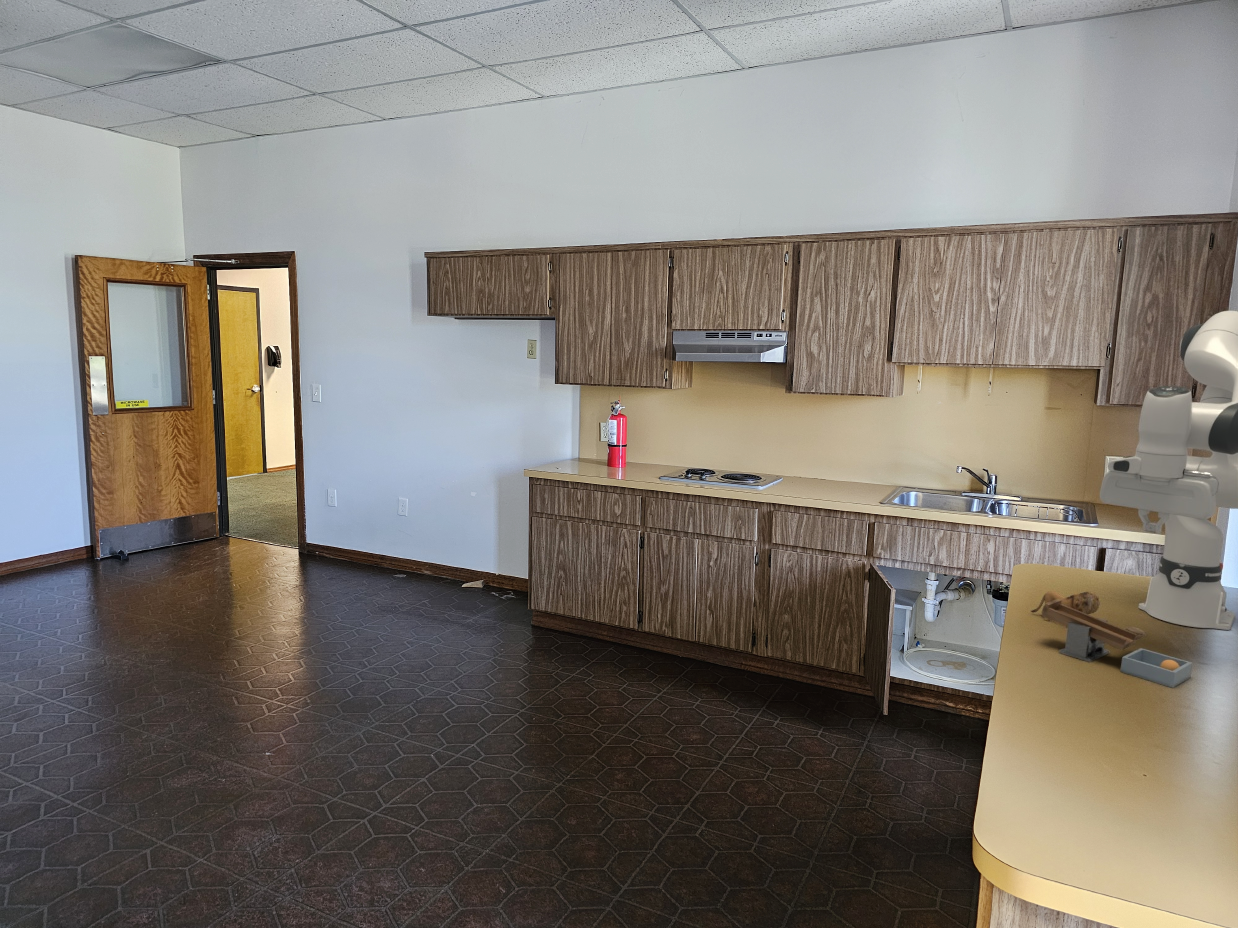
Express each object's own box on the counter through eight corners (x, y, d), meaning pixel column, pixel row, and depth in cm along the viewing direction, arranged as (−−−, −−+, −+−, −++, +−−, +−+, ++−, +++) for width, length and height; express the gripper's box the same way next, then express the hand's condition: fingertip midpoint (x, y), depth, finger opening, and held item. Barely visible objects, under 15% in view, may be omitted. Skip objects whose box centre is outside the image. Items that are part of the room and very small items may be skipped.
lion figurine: (1100, 630, 182) (1105, 592, 181) (1089, 634, 179) (1094, 595, 178) (1035, 612, 194) (1040, 575, 193) (1024, 615, 191) (1028, 579, 190)
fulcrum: (1078, 644, 173) (1082, 613, 172) (1109, 653, 168) (1113, 621, 167) (1059, 652, 167) (1062, 621, 166) (1089, 662, 162) (1093, 629, 161)
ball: (1160, 660, 158) (1177, 656, 156) (1169, 676, 157) (1186, 672, 154) (1154, 664, 156) (1170, 659, 154) (1163, 680, 155) (1180, 675, 153)
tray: (1138, 662, 164) (1140, 647, 163) (1190, 677, 157) (1192, 662, 156) (1120, 671, 158) (1122, 656, 158) (1172, 687, 151) (1175, 672, 151)
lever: (1069, 606, 179) (1072, 593, 178) (1147, 637, 167) (1151, 624, 166) (1041, 616, 171) (1045, 603, 170) (1121, 650, 159) (1126, 636, 158)
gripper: (1225, 472, 158) (1216, 540, 161) (1112, 458, 175) (1105, 520, 177) (1214, 475, 155) (1205, 545, 157) (1100, 461, 171) (1093, 524, 173)
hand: (1151, 531), depth 167 cm, fingers closed
